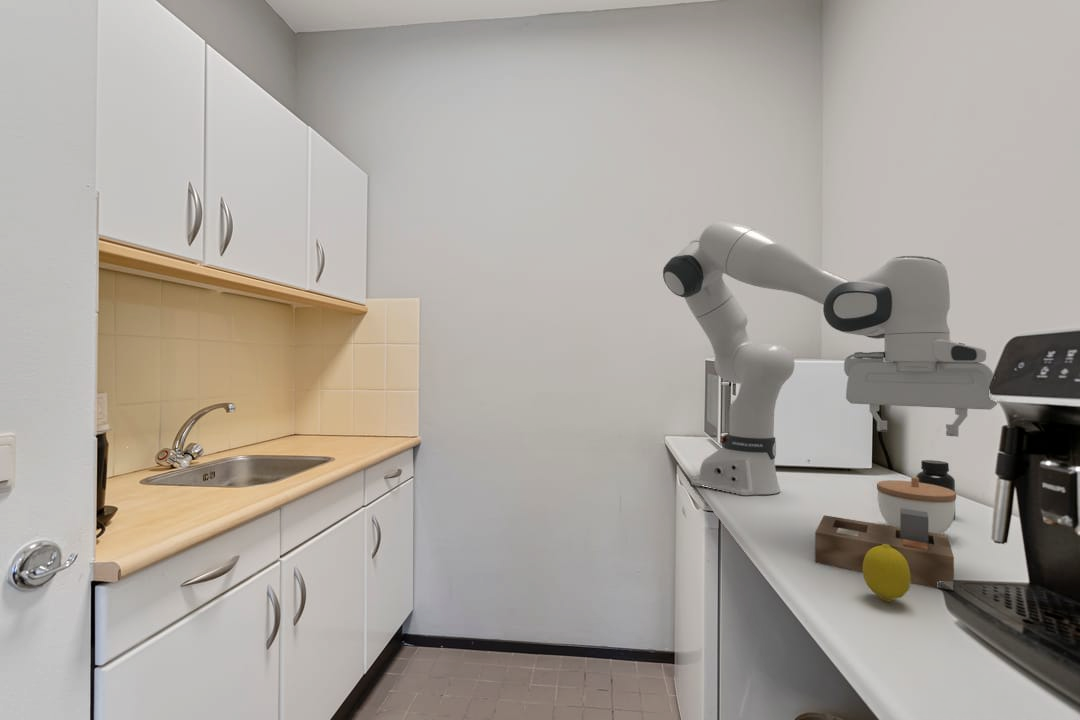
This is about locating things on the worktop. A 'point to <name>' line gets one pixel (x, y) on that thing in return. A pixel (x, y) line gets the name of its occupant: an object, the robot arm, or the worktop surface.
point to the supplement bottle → (936, 474)
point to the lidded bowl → (917, 502)
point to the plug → (914, 525)
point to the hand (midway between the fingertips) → (916, 433)
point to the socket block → (854, 539)
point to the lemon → (886, 572)
